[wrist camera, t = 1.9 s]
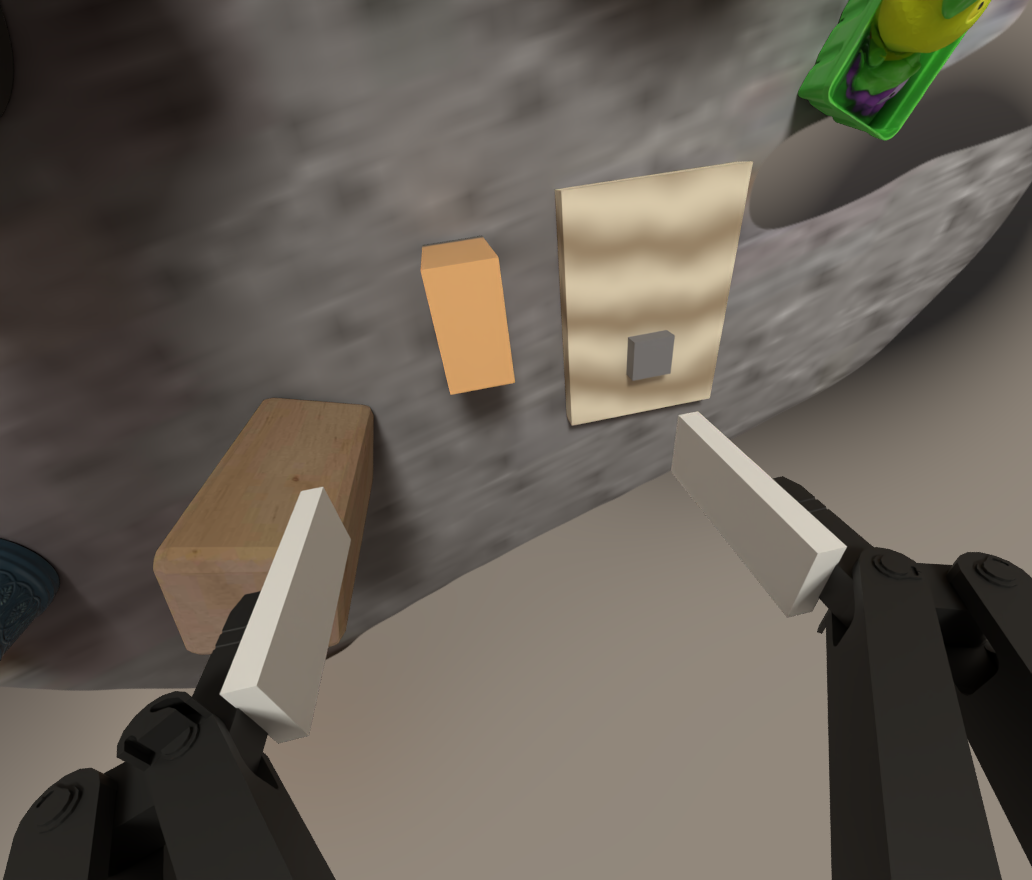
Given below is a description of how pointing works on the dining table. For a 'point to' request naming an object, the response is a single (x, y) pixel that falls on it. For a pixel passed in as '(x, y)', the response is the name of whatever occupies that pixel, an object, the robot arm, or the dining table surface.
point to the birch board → (646, 283)
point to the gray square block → (650, 355)
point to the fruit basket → (885, 59)
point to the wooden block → (265, 511)
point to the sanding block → (468, 313)
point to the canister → (22, 590)
